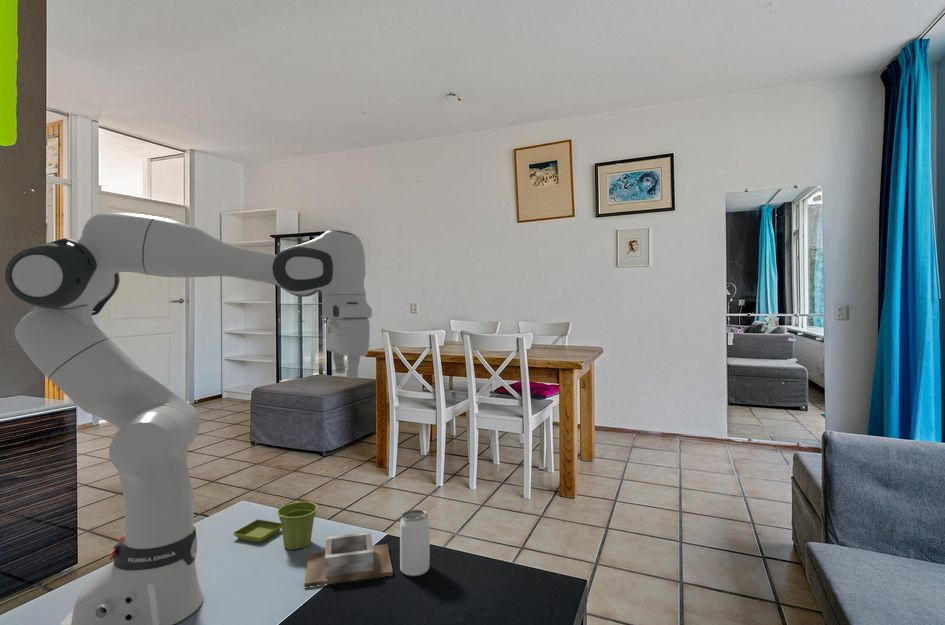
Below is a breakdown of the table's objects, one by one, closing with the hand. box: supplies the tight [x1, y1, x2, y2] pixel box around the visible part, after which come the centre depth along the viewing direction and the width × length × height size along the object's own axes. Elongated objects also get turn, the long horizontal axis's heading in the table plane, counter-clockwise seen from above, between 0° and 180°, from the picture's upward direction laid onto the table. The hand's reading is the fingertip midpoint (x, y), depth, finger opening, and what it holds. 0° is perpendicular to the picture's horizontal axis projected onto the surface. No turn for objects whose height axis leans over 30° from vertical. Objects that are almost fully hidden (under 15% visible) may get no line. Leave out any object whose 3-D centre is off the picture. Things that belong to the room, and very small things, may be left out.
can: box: [399, 509, 431, 577], centre depth 108 cm, size 6×6×12 cm
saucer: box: [232, 519, 282, 543], centre depth 124 cm, size 9×9×2 cm
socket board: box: [303, 531, 394, 588], centre depth 109 cm, size 18×13×6 cm
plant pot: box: [276, 501, 319, 550], centre depth 119 cm, size 9×9×9 cm
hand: (346, 375), depth 102 cm, fingers open, 8 cm apart
